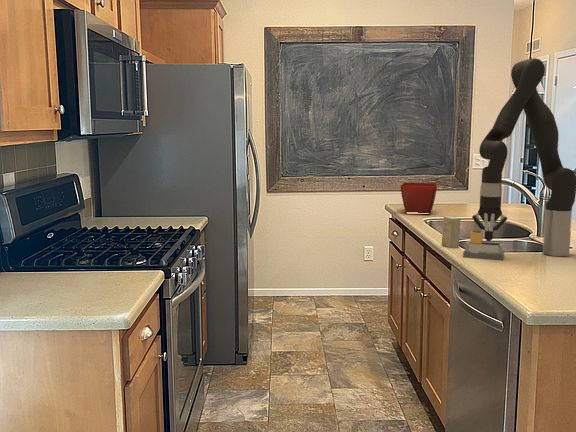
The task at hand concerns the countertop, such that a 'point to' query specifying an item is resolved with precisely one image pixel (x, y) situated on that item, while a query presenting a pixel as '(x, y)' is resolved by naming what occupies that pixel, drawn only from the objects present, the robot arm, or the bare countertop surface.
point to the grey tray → (484, 250)
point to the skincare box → (451, 231)
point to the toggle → (476, 237)
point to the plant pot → (418, 196)
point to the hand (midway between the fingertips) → (488, 240)
